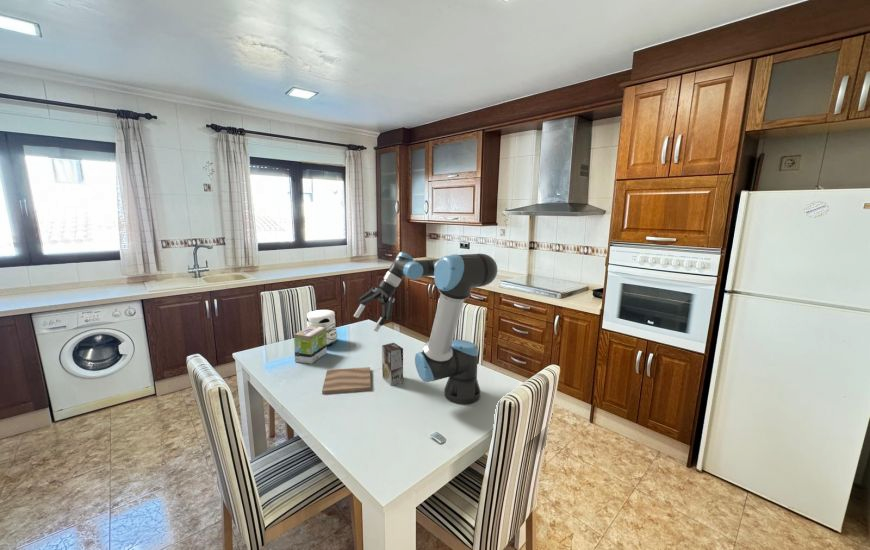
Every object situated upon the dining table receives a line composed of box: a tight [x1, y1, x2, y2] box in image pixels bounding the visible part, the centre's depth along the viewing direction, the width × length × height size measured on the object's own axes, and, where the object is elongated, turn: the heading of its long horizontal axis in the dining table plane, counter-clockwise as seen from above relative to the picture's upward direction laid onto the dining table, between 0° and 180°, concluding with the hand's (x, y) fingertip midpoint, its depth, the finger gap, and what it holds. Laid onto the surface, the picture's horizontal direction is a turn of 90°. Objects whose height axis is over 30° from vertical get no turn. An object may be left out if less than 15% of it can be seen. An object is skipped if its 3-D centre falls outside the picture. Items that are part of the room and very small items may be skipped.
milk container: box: [306, 309, 338, 347], centre depth 203 cm, size 17×17×18 cm
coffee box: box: [381, 342, 404, 386], centre depth 160 cm, size 9×6×16 cm
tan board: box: [321, 366, 372, 395], centre depth 159 cm, size 20×20×2 cm
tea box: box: [293, 326, 328, 364], centre depth 183 cm, size 15×10×15 cm, turn 168°
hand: (365, 323), depth 159 cm, fingers open, 13 cm apart
